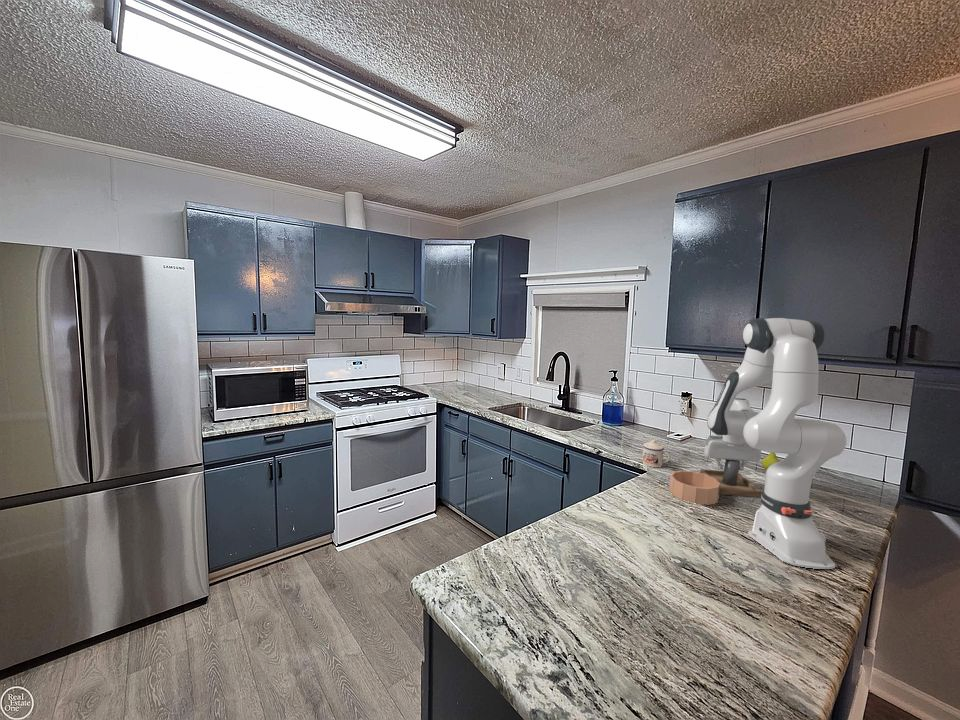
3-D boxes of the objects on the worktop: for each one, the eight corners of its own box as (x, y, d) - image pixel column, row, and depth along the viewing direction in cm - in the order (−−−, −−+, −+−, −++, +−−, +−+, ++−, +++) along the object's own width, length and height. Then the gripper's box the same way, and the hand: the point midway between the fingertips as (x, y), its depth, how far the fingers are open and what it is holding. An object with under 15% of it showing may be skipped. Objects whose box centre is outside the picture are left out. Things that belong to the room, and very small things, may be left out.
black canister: (738, 486, 162) (742, 463, 161) (725, 485, 163) (729, 461, 162) (732, 481, 167) (736, 458, 166) (720, 479, 168) (723, 457, 166)
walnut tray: (761, 498, 154) (762, 492, 154) (719, 495, 156) (720, 489, 156) (736, 477, 174) (737, 471, 174) (699, 474, 176) (700, 469, 176)
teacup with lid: (639, 464, 187) (640, 440, 185) (645, 459, 194) (646, 436, 192) (666, 471, 179) (668, 446, 178) (671, 465, 186) (673, 441, 185)
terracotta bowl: (725, 507, 147) (727, 490, 146) (677, 503, 149) (679, 486, 148) (707, 487, 163) (708, 472, 162) (664, 484, 165) (665, 469, 165)
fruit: (771, 475, 177) (774, 449, 175) (757, 469, 183) (760, 444, 182) (783, 473, 179) (786, 447, 177) (768, 468, 185) (771, 443, 184)
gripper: (709, 437, 161) (706, 470, 163) (764, 440, 158) (761, 474, 160) (703, 432, 167) (700, 464, 169) (756, 435, 164) (753, 468, 166)
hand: (730, 469), depth 164 cm, fingers open, 6 cm apart
